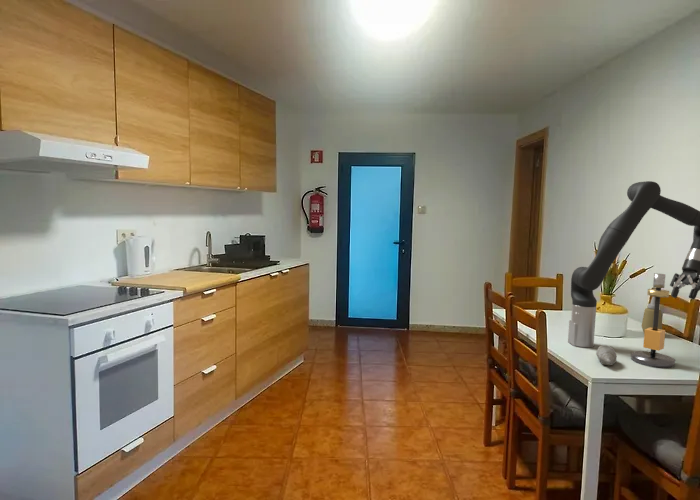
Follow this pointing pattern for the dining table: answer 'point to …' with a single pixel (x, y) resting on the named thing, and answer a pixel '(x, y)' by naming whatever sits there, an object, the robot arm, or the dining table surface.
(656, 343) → the sleeve
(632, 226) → the robot arm
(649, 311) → the squeeze bottle
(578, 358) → the dining table surface
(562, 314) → the dining table surface
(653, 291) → the post
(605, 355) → the grey stone
